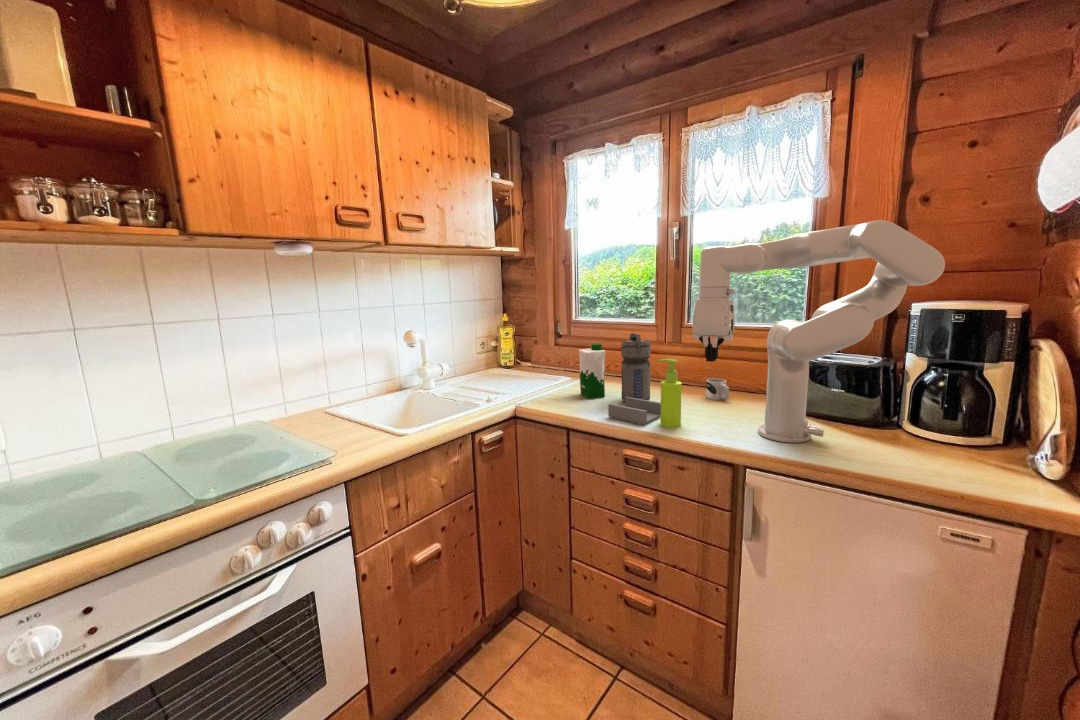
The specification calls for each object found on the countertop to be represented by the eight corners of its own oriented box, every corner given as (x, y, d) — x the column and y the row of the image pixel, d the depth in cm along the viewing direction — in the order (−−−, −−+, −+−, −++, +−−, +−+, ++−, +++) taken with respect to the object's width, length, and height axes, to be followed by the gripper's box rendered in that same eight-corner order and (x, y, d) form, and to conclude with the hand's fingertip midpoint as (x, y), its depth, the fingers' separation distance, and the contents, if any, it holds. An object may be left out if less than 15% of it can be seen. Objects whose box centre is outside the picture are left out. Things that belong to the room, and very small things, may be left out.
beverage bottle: (645, 395, 162) (646, 330, 157) (653, 405, 149) (653, 334, 144) (618, 396, 162) (618, 331, 158) (624, 406, 149) (623, 335, 145)
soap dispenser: (662, 419, 134) (662, 357, 130) (683, 423, 130) (685, 358, 126) (654, 424, 130) (654, 360, 126) (676, 428, 125) (677, 362, 122)
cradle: (662, 416, 137) (662, 402, 136) (644, 425, 129) (644, 411, 128) (627, 409, 146) (626, 396, 145) (608, 417, 138) (608, 404, 137)
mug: (702, 396, 158) (702, 379, 157) (717, 394, 160) (718, 377, 158) (719, 403, 148) (720, 385, 147) (736, 401, 150) (736, 383, 149)
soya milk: (608, 397, 162) (607, 345, 158) (586, 400, 159) (585, 347, 156) (598, 391, 170) (597, 342, 167) (577, 394, 168) (576, 344, 164)
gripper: (748, 293, 112) (744, 361, 115) (692, 293, 122) (690, 356, 125) (738, 294, 107) (734, 366, 110) (681, 294, 117) (679, 360, 120)
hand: (711, 360), depth 118 cm, fingers closed
